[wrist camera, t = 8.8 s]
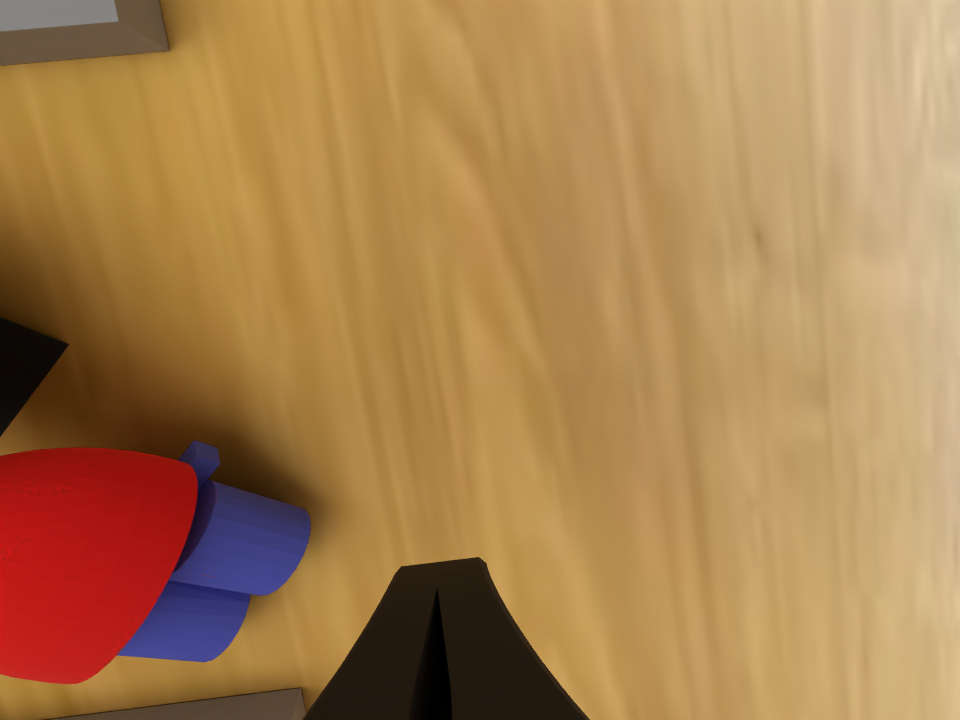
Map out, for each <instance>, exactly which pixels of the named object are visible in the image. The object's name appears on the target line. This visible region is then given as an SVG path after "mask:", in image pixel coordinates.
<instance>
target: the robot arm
mask: <svg viewBox="0 0 960 720" xmlns="http://www.w3.org/2000/svg"><path fill="white" fill-rule="evenodd" d="M302 720H590V719H589V718H588V717H587V716H586V715H585V714H584V712H583V711H582V710H581V709H580V708H579V707H578V706H577V704H576V703H575V702H574V701H573V700H572V698H571V697H570V696H569V695H568V694H567V692H566V691H565V690H564V689H563V688H562V686H561V685H560V684H559V682H558V681H557V680H556V679H555V677H554V676H553V675H552V673H551V672H550V671H549V670H548V668H547V667H546V666H545V664H544V663H543V662H542V660H541V659H540V658H539V656H538V655H537V653H536V652H535V651H534V649H533V648H532V646H531V645H530V643H529V642H528V640H527V639H526V637H525V636H524V634H523V633H522V631H521V630H520V628H519V627H518V625H517V624H516V622H515V621H514V619H513V618H512V616H511V614H510V613H509V611H508V609H507V608H506V606H505V604H504V602H503V600H502V599H501V597H500V595H499V593H498V591H497V589H496V587H495V585H494V583H493V581H492V579H491V576H490V574H489V571H488V568H487V564H486V562H484V561H483V560H482V559H480V558H479V557H476V558H468V559H460V560H451V561H443V562H435V563H427V564H418V565H410V566H402V567H400V569H399V570H398V571H397V572H396V573H395V575H394V577H393V579H392V581H391V583H390V584H389V586H388V588H387V590H386V592H385V594H384V596H383V597H382V599H381V601H380V603H379V605H378V606H377V608H376V610H375V612H374V613H373V615H372V617H371V618H370V620H369V622H368V624H367V625H366V627H365V628H364V630H363V632H362V633H361V635H360V636H359V638H358V639H357V641H356V643H355V644H354V646H353V647H352V649H351V651H350V652H349V654H348V655H347V657H346V658H345V660H344V662H343V663H342V665H341V666H340V668H339V669H338V670H337V672H336V673H335V675H334V676H333V678H332V679H331V680H330V682H329V683H328V684H327V686H326V687H325V689H324V690H323V691H322V693H321V694H320V696H319V697H318V698H317V700H316V701H315V703H314V704H313V705H312V707H311V708H310V710H309V711H308V712H307V714H306V715H305V716H304V718H303V719H302Z"/></svg>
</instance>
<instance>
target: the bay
mask: <svg viewBox="0 0 960 720" xmlns="http://www.w3.org/2000/svg"><path fill="white" fill-rule="evenodd" d="M163 51H169V46H168V41H167V36H166V31H165V26H164V22H163V17H162V12H161V7H160V2H159V0H0V66H2V65H13V64H25V63H36V62H48V61H59V60H71V59H82V58H94V57H105V56H117V55H128V54H140V53H151V52H163ZM305 715H306V711H305V706H304V701H303V696H302V691H301V688H297V689H289V690H281V691H273V692H265V693H257V694H249V695H241V696H233V697H225V698H217V699H209V700H201V701H193V702H185V703H177V704H170V705H162V706H154V707H146V708H138V709H130V710H122V711H114V712H106V713H98V714H90V715H82V716H74V717H66V718H58V719H50V720H302V719H303V718H304V716H305Z"/></svg>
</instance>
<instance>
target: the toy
mask: <svg viewBox="0 0 960 720" xmlns="http://www.w3.org/2000/svg"><path fill="white" fill-rule="evenodd" d="M68 346H69V344H67V343H64V342H62V341H59V340H57V339H54V338H52V337H49V336H47V335H44V334H42V333H39V332H37V331H34V330H32V329H29V328H27V327H24V326H22V325H19V324H17V323H14V322H12V321H9V320H7V319H4V318H2V317H0V436H1V435H2V434H3V432H4V431H5V430H6V428H7V427H8V426H9V424H10V423H11V422H12V420H13V419H14V418H15V416H16V415H17V414H18V412H19V411H20V410H21V408H22V407H23V406H24V404H25V403H26V402H27V400H28V399H29V398H30V396H31V395H32V394H33V392H34V391H35V390H36V388H37V387H38V386H39V384H40V383H41V382H42V380H43V379H44V378H45V376H46V375H47V374H48V372H49V371H50V370H51V368H52V367H53V366H54V364H55V363H56V362H57V360H58V359H59V358H60V356H61V355H62V354H63V352H64V351H65V350H66V348H67V347H68ZM219 465H220V460H219V454H218V448H216V447H213V446H210V445H208V444H205V443H202V442H199V441H196V440H194V441H193V442H192V444H191V445H190V446H189V447H188V449H187V450H186V451H185V452H184V453H183V455H182V456H181V457H180V458H179V460H178V461H177V460H174V459H170V458H166V457H161V456H156V455H151V454H146V453H141V452H136V451H127V450H117V449H108V448H81V447H72V448H54V449H40V450H32V451H25V452H19V453H14V454H8V455H3V456H0V674H3V675H6V676H10V677H15V678H21V679H28V680H34V681H41V682H48V683H60V684H77V683H80V682H83V681H85V680H87V679H89V678H90V677H92V676H93V675H95V674H97V673H98V672H99V671H100V670H101V669H103V668H104V667H105V666H106V665H107V664H109V663H110V662H111V660H112V659H113V658H114V657H115V656H116V655H120V656H133V657H145V658H158V659H171V660H183V661H196V662H207V661H211V660H213V659H215V658H216V657H217V656H219V655H220V654H221V653H222V652H223V651H224V650H225V649H226V648H227V647H228V646H229V645H230V643H231V642H232V640H233V639H234V637H235V636H236V634H237V633H238V631H239V629H240V627H241V625H242V623H243V620H244V618H245V615H246V612H247V609H248V606H249V601H250V594H253V595H259V596H262V595H269V594H270V593H272V592H274V591H276V590H277V589H278V588H280V587H281V586H282V585H283V584H284V583H285V582H286V581H287V580H288V578H289V577H290V576H291V575H292V573H293V572H294V571H295V569H296V568H297V566H298V564H299V562H300V560H301V559H302V557H303V555H304V552H305V549H306V547H307V544H308V541H309V536H310V528H311V523H310V516H309V514H308V513H307V511H306V510H305V509H303V508H300V507H297V506H294V505H290V504H287V503H284V502H281V501H277V500H274V499H271V498H267V497H264V496H261V495H257V494H254V493H251V492H248V491H244V490H241V489H238V488H234V487H231V486H228V485H224V484H221V483H218V482H215V481H211V480H207V479H208V478H209V477H210V476H211V475H212V473H213V472H214V471H215V470H216V469H217V467H218V466H219Z"/></svg>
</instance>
